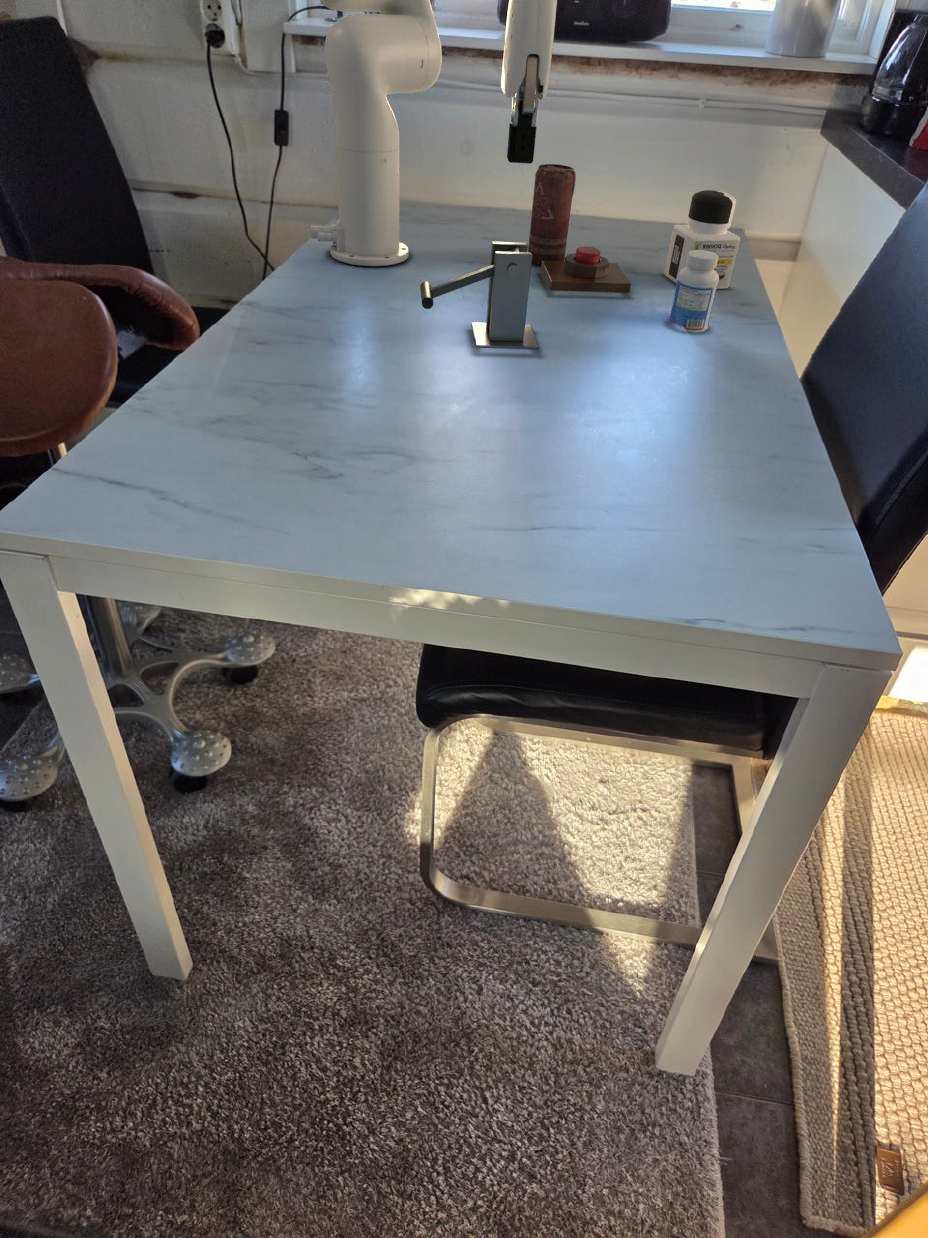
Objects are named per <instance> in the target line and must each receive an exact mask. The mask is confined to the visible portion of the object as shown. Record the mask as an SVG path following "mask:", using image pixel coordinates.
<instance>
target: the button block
mask: <svg viewBox="0 0 928 1238" xmlns="http://www.w3.org/2000/svg"><path fill="white" fill-rule="evenodd" d="M575 257H576V252H575V253H569V254H568V255H565V259H564V261H542V265H541V266H540V277H541V279H542V281H543V284H544V286H545V289H549V290H550V291H559V292H560V291H564V292H589V293H590V292H593V293H596V292H597V293H620V294H621V293H622V294H623V293H624V294H625V293H626V294H629V293H630V291H631V286H632V283H631V282H630V280H629V279H628V277H627V275H626V274H625V273H624V271H623V269H622V268H621V267H620V266H619V264H618V263H617V262H610V261H609V260H608V258H607V257H604V256H602V255H600V258H599V263H596V264H585V263H580V262H577V261H575Z"/></svg>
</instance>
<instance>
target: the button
mask: <svg viewBox="0 0 928 1238" xmlns="http://www.w3.org/2000/svg"><path fill="white" fill-rule="evenodd" d="M575 253H576V257H575V261H577V262H580V263H585V264H596V263H599V258H600V256H601V250H600V249H599V248H597V247H592V246H579V247H576V251H575Z"/></svg>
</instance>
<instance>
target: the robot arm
mask: <svg viewBox="0 0 928 1238" xmlns="http://www.w3.org/2000/svg"><path fill="white" fill-rule="evenodd" d="M319 1H320V3H321V4H322V5H323V6H324V7H326V8H327V9H329V10H332V11H335V12H336V11H337V12H346V13H353V14H349V15H346V16H343V17H341V18H339V19H337V20H336V21H335V22H334V23H333V24H332V25H331V26H330V27H329V29H328V32H327V33H326V37H325V41H324V61H325V66H326V72H327V77H328V81H329V87H330V92H331V99H332V106H333V107H332V108H333V116H334V137H335V139H334V140H335V157H336V160H335V161H336V182H337V183H336V184H337V206H338V207H337V208H338V211H337V212H338V219H337V221H336V224H332V223H331V224H330V226H323V225H310V236H311V237H310V238H311V239H312V240H313V239H314V240H315V239H316V240H317V242H323V243H325V242H326V243H327V242H332V243H331V244H330V247H329V251H330V252H329V253H330V255H331V257H332V258H334V259H335V260H336V261H339V262H342V263H345V264H349V265H353V266H359V267H361V266H362V267H385V266H386V267H387V266H393V265H396V264H397V265H398V264H400V263H403V262H405V261H406V260H407V259H408V258H409V256H410V250H409V247H408V245H406V244H405V243H403V242H401V241H400V163H401V161H400V153H401V152H400V129H399V124H398V121H397V118H396V116H395V114H394V112H393V109H392V107H391V105H390V103H389V100H388V97H387V96H390V95H398V94H413V93H420V92H425V91H427V90H429V89H430V88H431V87H433V86H434V85H435V84H436V82H438V81H437V80H438V79H439V77H440V73H441V71H442V63H443V51H442V43H441V38H440V34H439V30H438V26H437V22H436V19H435V14H434V10H433V8H432V4H431V1H430V0H319ZM557 5H558V0H509V1H508V7H507V16H506V23H505V24H506V25H505V35H504V47H503V59H502V71H501V78H500V80H501V81H500V88H501V90H502V92H503V95H505V97H506V98H507V99H511V98H512V101H511V114H510V115H511V116H510V123H509V124H508V125H509V126H508V128H509V129H508V137H507V138H508V139H507V149H506V151H507V152H506V159H507V161H508V162H509V163H510V164H511V163H513V164H527V165H529V164H532V163H533V162H534V159H535V158H534V157H535V149H536V148H535V146H536V137H537V126H536V125H537V116H538V107H539V100H540V101H542V100H544V99H545V98H547V94H548V89H549V83H550V82H549V81H550V74H551V65H552V59H553V58H552V57H553V56H552V55H553V50H554V49H553V47H554V38H555V27H556V17H557V16H556V14H557Z"/></svg>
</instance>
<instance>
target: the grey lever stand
mask: <svg viewBox="0 0 928 1238" xmlns="http://www.w3.org/2000/svg"><path fill="white" fill-rule="evenodd" d="M528 245H529V243H527V242H514V241H513V242H512V241H492V242H491V252H490V265H492V264H494V275H493V276H491V277H489V278H488V279H489V280H488V290H487V291H488V293H487V307H486V320H485V321H486V322H471V331H472V334H473V340H474V344H475V348H476V349H509V350H511V349H512V350H539V349H540V346H539V343H538V341H537V337H536V335H535V331H534V329H533V327H532V324H531V323H527V321H526V320H527V313H528V304H529V303H528V302H529V292H530V282H531V281H530V280H531V273H532V265H533V263H532V253H530V252H528ZM517 247H518V249H519V252H506V251H509V250H511V249H514V248H517ZM490 265H489V266H490Z"/></svg>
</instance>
